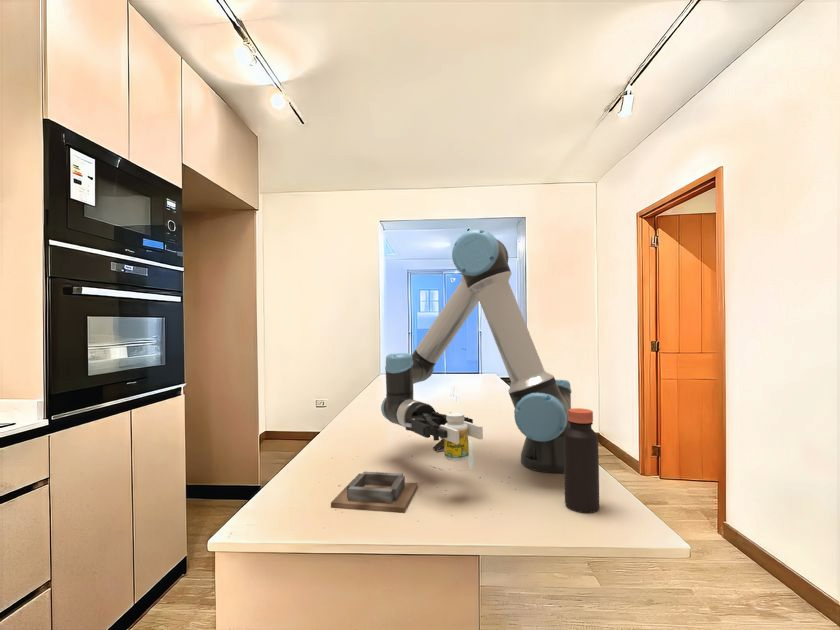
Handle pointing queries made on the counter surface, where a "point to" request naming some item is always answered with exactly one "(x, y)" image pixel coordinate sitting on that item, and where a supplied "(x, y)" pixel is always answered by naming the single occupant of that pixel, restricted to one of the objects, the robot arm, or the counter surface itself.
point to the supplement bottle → (459, 450)
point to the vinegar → (581, 462)
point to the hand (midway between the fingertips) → (469, 435)
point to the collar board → (377, 492)
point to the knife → (439, 444)
